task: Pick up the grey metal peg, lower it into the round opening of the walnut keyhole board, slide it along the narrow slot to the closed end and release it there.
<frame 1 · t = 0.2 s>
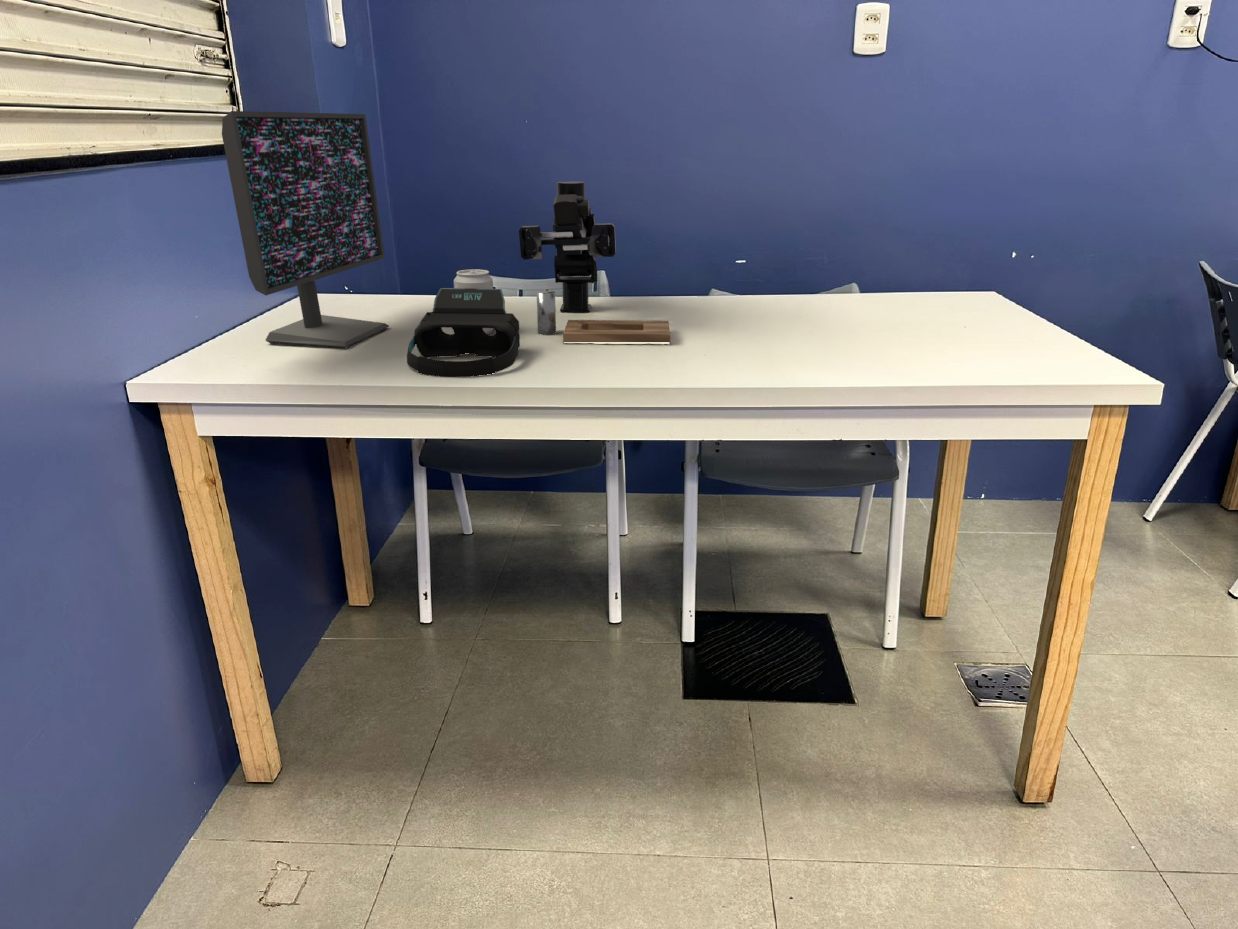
hand: (564, 248, 161), 17 cm above the table, tool horizontal, fingers open, 9 cm apart
computer monitor: (330, 337, 166), on the table
keyhole board: (617, 337, 166), on the table
peg: (546, 332, 169), on the table
virtual reality headset: (465, 363, 149), on the table
can: (476, 333, 170), on the table
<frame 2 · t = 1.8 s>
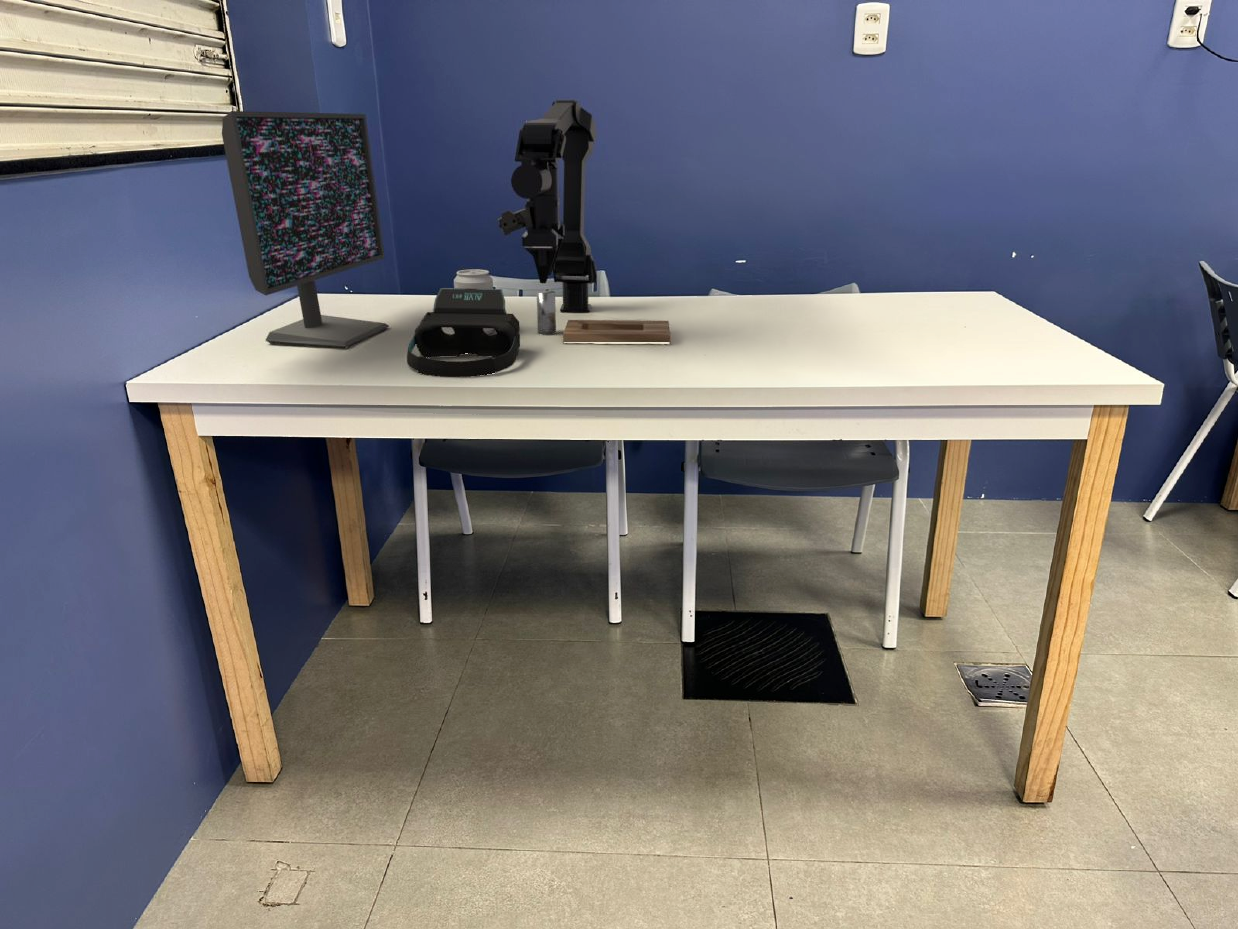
hand: (545, 279, 165), 10 cm above the table, tool pointing down, fingers open, 9 cm apart
nothing on the table moved.
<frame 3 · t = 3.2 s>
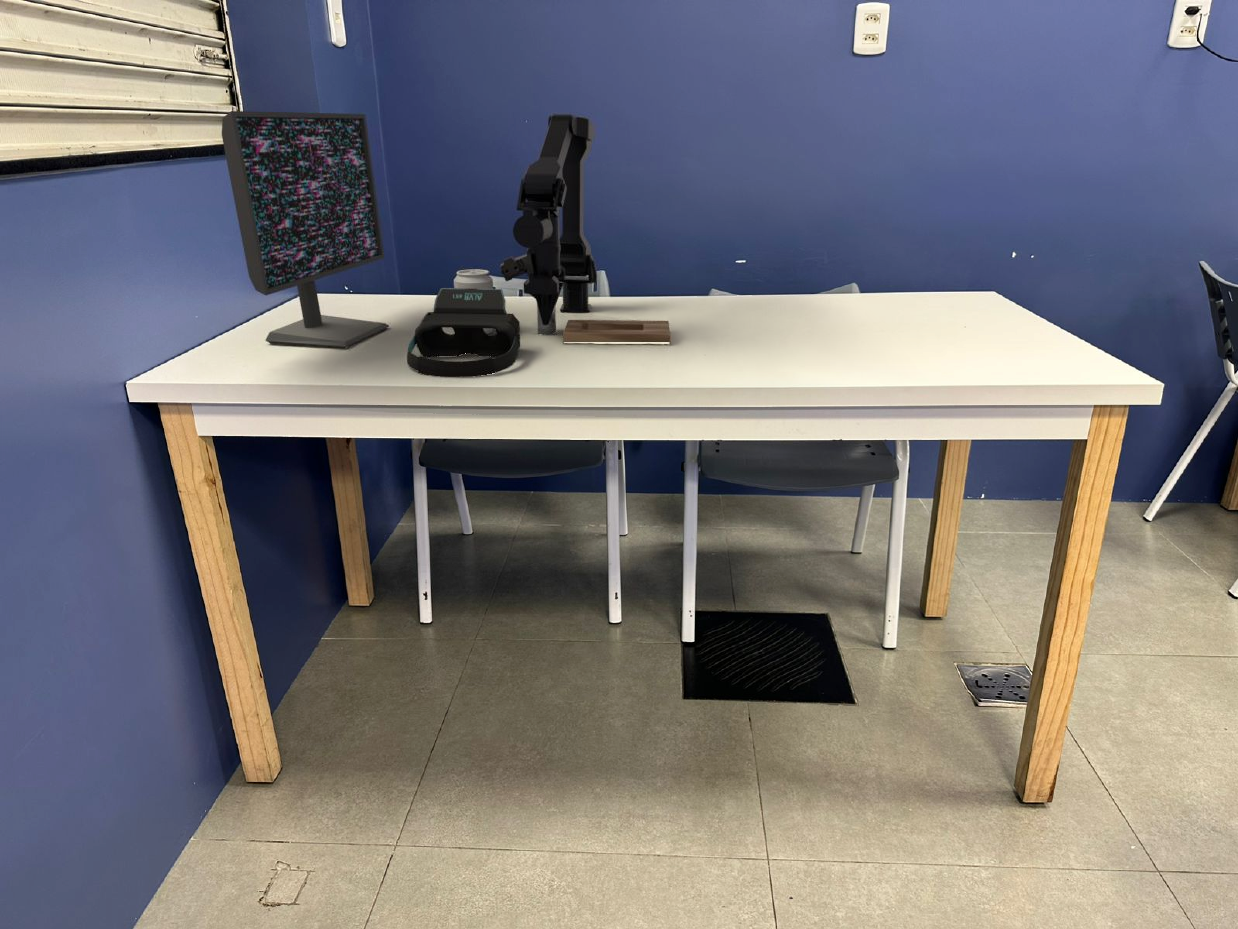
hand: (546, 322, 168), 2 cm above the table, tool pointing down, fingers closed on peg, 4 cm apart
peg: (546, 332, 169), on the table, touching gripper
everything else where it was.
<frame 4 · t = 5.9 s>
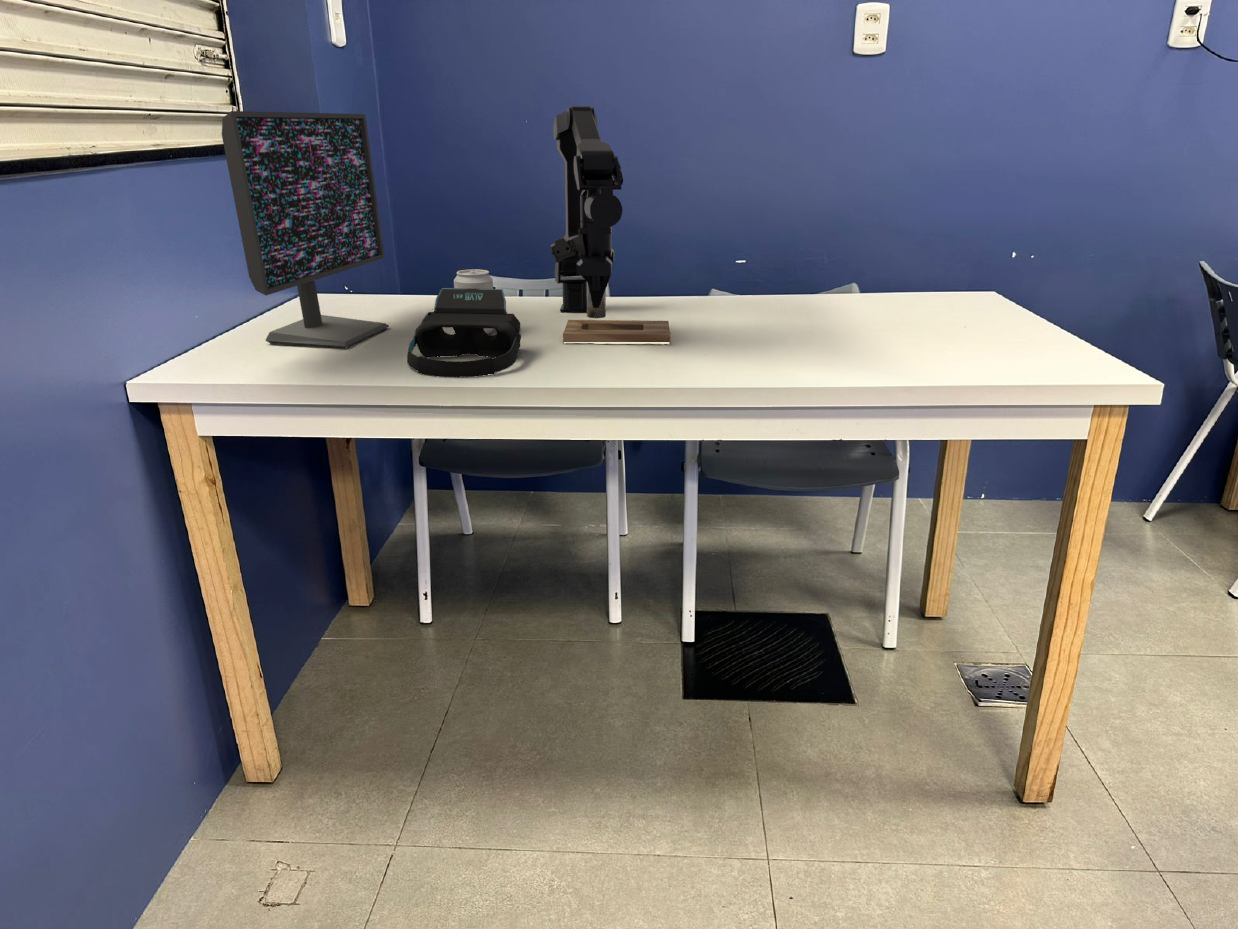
hand: (596, 305, 164), 6 cm above the table, tool pointing down, fingers closed on peg, 4 cm apart
peg: (596, 316, 165), point 4 cm above the table, touching gripper
everything else where it was.
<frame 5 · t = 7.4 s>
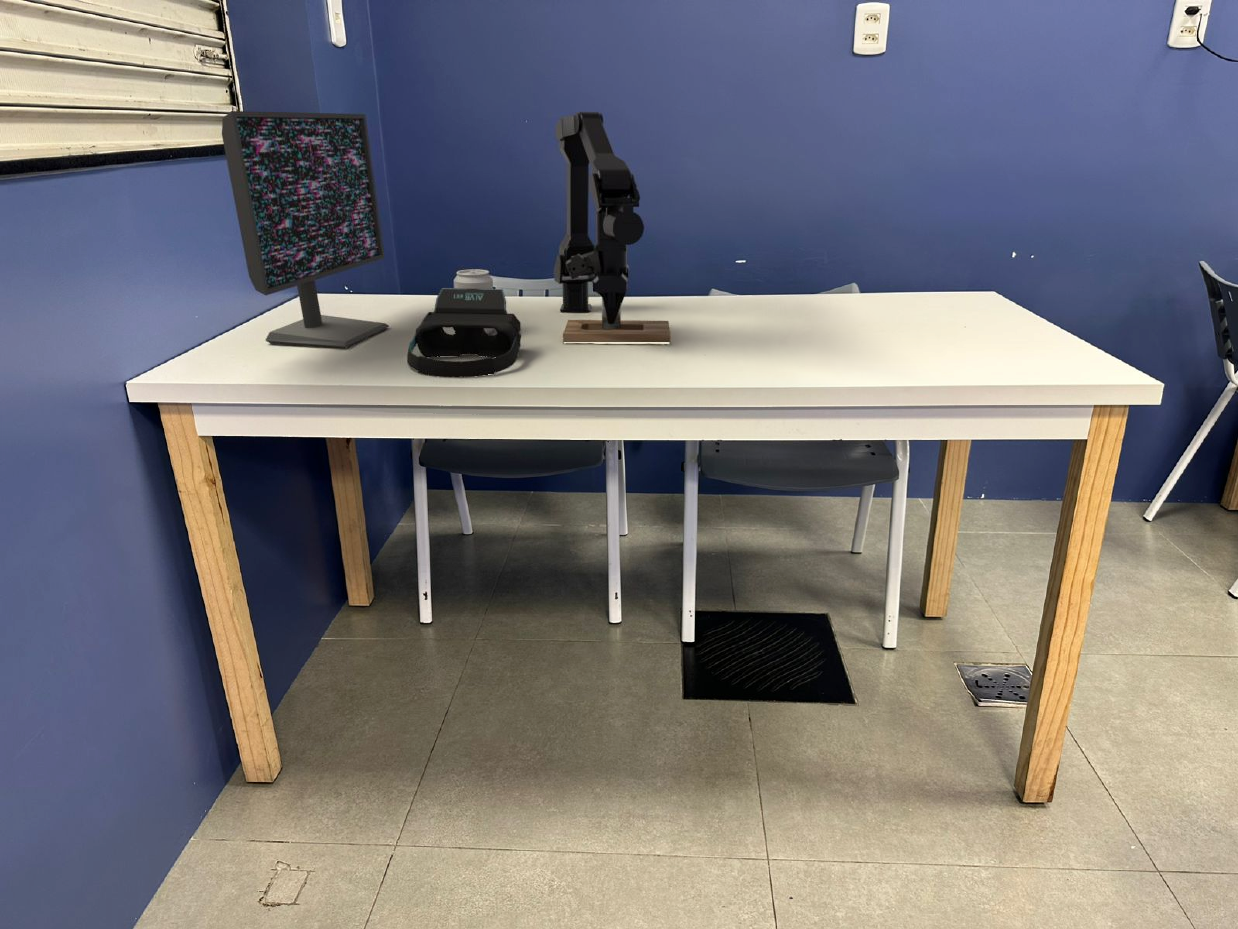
hand: (611, 321, 165), 3 cm above the table, tool pointing down, fingers closed on peg, 4 cm apart
peg: (611, 332, 166), point 1 cm above the table, touching gripper
everything else where it was.
when the fingers open (3 cm above the table, at t = 8.5 s): peg stays where it is, resting in keyhole board.
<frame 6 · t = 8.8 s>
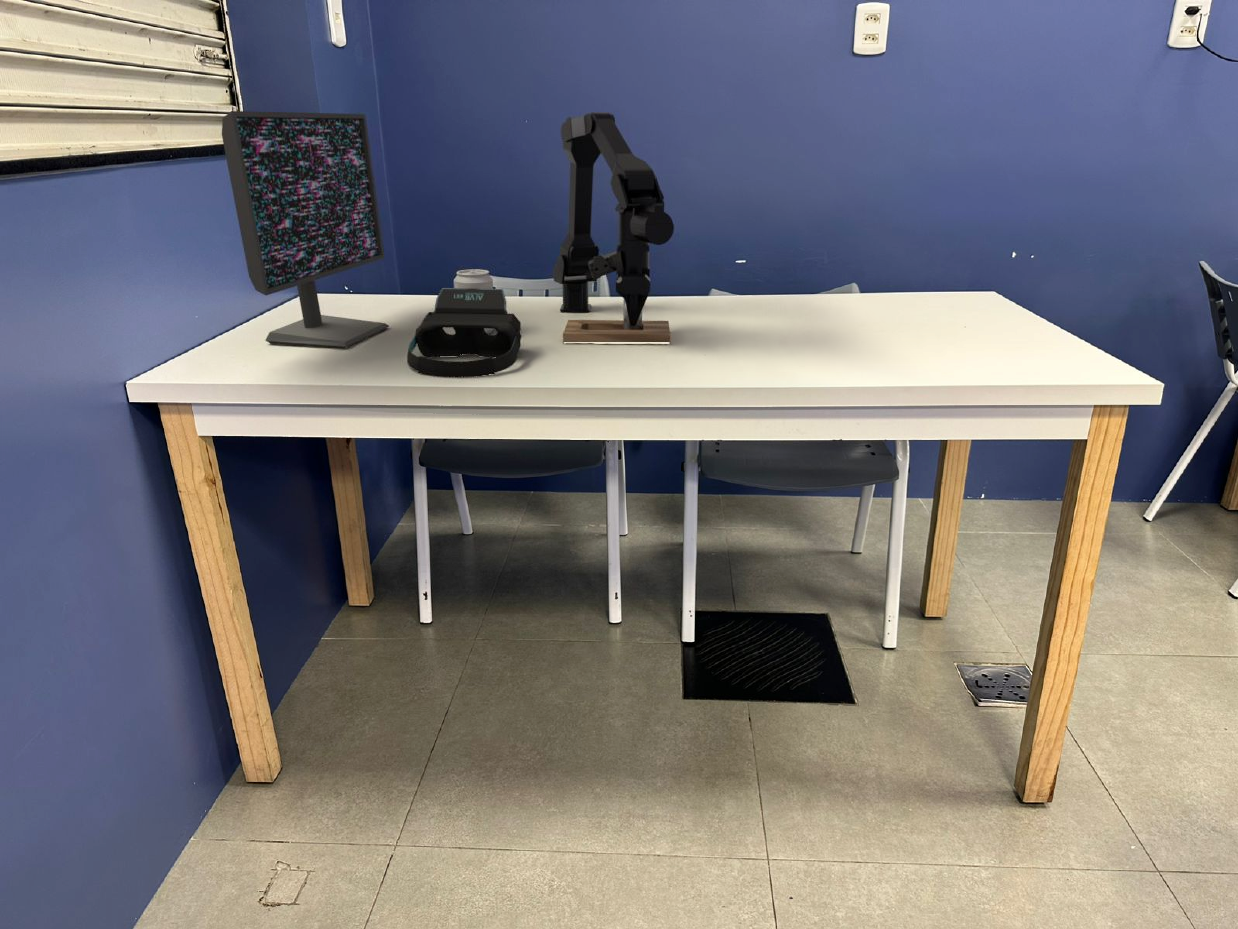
hand: (633, 321, 165), 3 cm above the table, tool pointing down, fingers open, 6 cm apart
peg: (632, 337, 166), resting in keyhole board
everything else where it was.
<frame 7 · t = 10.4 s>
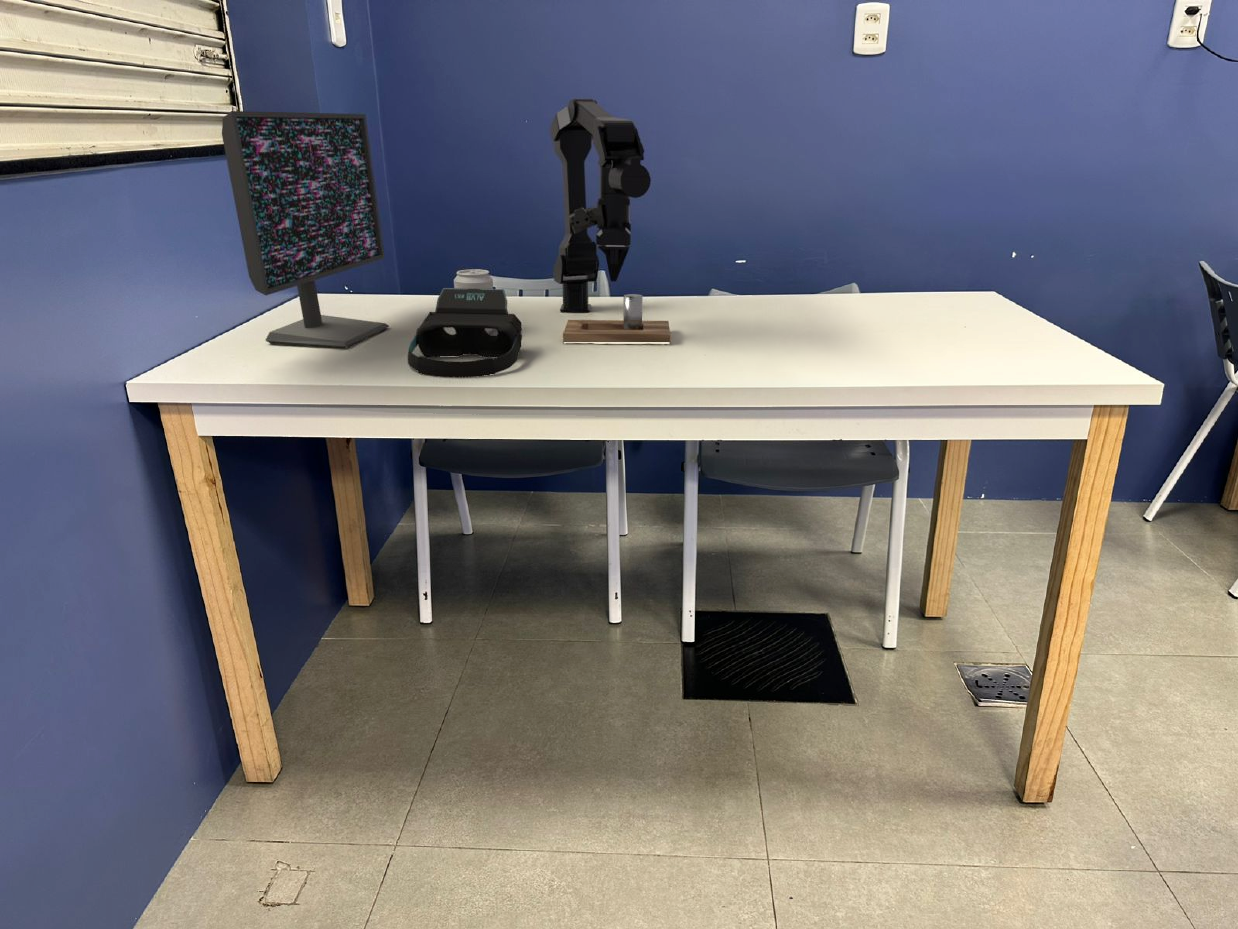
hand: (613, 276, 166), 11 cm above the table, tool pointing down, fingers open, 9 cm apart
nothing on the table moved.
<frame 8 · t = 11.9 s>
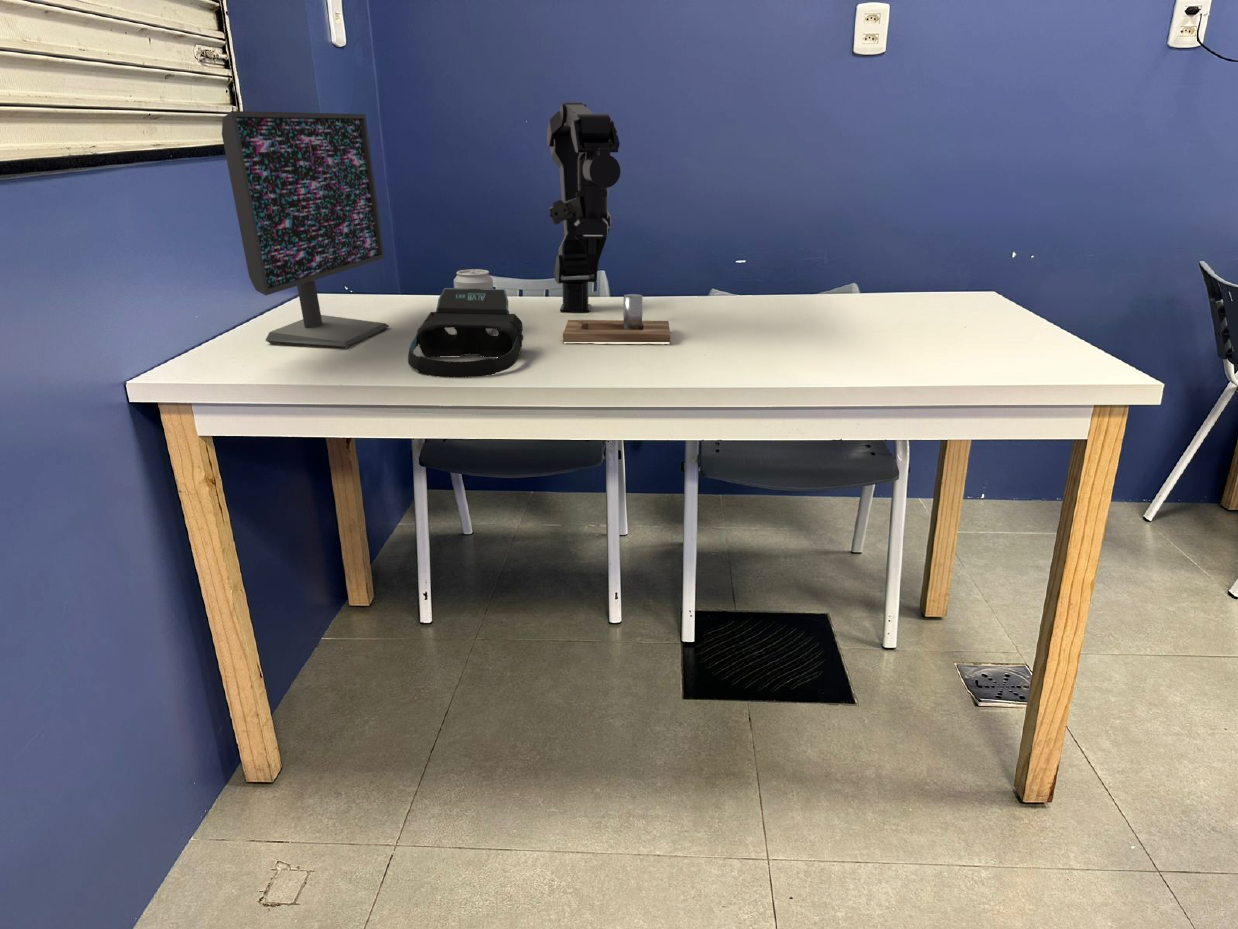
hand: (593, 267, 169), 12 cm above the table, tool pointing down, fingers open, 9 cm apart
nothing on the table moved.
at the end: peg 0.1 cm from the target spot on the keyhole board, point 0.0 cm above the keyhole board's base; peg tilted 0°; the gripper is holding nothing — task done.
